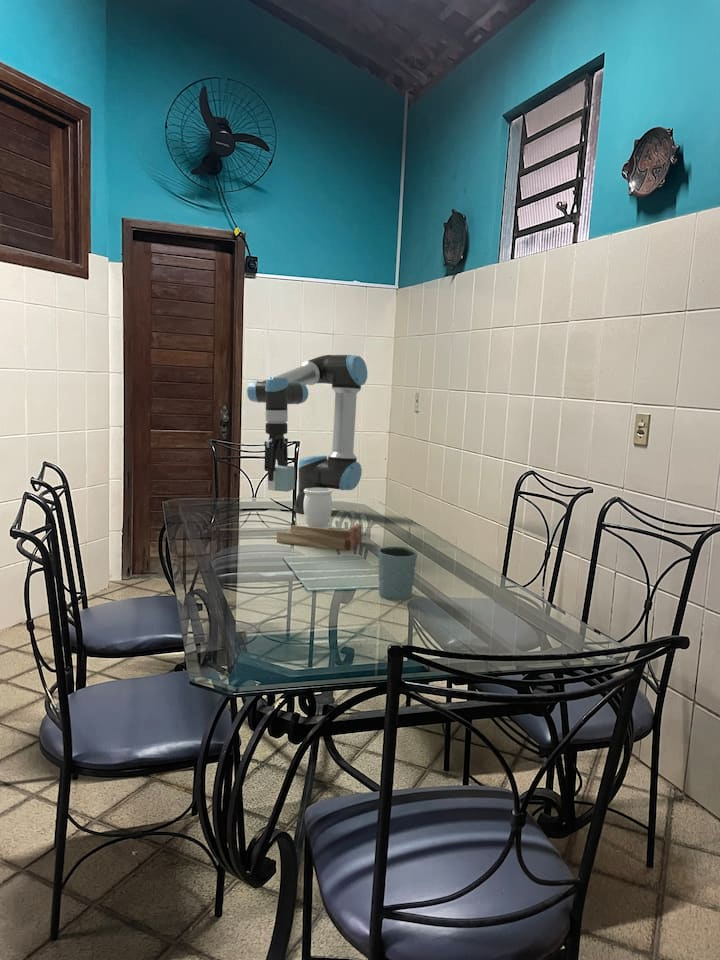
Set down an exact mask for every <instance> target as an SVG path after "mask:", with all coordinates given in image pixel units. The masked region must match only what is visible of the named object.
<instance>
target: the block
mask: <svg viewBox="0 0 720 960" xmlns="http://www.w3.org/2000/svg"><path fill="white" fill-rule="evenodd" d="M295 469H296V467H295V466H294V465H288V466H281V465H279V466H278V465H275V471H276V490H272V491H274V492H286V493H288V492H290V491H293V490H295V488H296V487H295V480H296V479H295V476H296V475H295V472H296V471H295Z"/></svg>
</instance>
